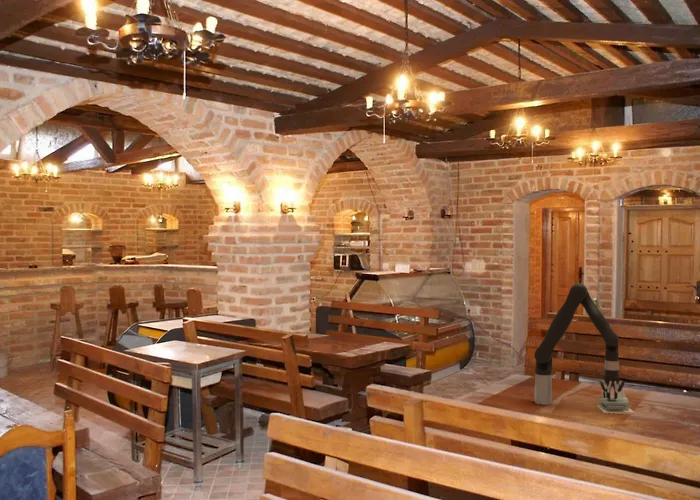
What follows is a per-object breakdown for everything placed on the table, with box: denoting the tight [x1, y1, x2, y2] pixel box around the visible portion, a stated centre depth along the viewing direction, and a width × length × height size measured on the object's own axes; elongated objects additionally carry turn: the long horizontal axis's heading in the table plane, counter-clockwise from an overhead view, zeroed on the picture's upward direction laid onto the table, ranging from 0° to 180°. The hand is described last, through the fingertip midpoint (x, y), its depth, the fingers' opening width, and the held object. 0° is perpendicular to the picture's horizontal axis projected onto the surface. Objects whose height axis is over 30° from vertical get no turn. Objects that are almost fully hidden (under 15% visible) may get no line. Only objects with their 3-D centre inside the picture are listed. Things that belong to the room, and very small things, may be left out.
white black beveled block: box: [601, 386, 630, 403], centre depth 373 cm, size 17×5×10 cm, turn 120°
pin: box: [609, 386, 615, 402], centre depth 357 cm, size 3×3×11 cm
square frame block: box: [596, 397, 635, 415], centre depth 355 cm, size 16×13×5 cm
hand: (611, 398), depth 357 cm, fingers closed on pin, 3 cm apart
